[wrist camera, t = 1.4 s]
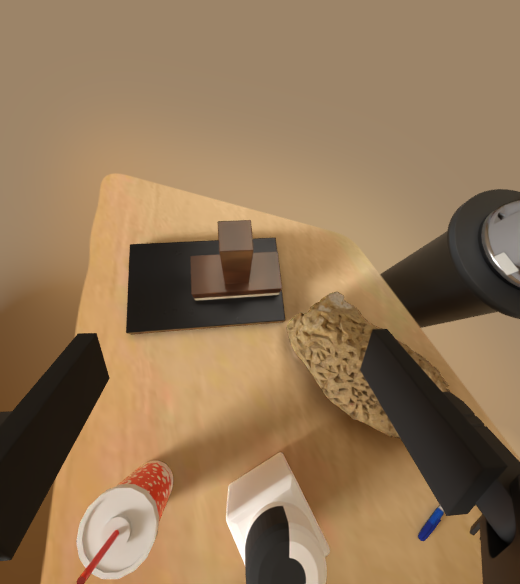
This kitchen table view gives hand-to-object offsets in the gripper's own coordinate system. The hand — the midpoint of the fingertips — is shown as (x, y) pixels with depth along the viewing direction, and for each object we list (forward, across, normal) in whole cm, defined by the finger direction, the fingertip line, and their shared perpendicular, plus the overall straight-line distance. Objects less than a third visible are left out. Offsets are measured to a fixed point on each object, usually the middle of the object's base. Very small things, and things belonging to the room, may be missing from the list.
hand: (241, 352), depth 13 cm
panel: (+23, -4, -8) cm, 25 cm away
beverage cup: (+7, -9, -25) cm, 28 cm away
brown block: (+22, 0, -6) cm, 23 cm away
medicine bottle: (+5, +4, -26) cm, 27 cm away
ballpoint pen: (+4, +25, -27) cm, 37 cm away
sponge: (+15, +16, -16) cm, 27 cm away
